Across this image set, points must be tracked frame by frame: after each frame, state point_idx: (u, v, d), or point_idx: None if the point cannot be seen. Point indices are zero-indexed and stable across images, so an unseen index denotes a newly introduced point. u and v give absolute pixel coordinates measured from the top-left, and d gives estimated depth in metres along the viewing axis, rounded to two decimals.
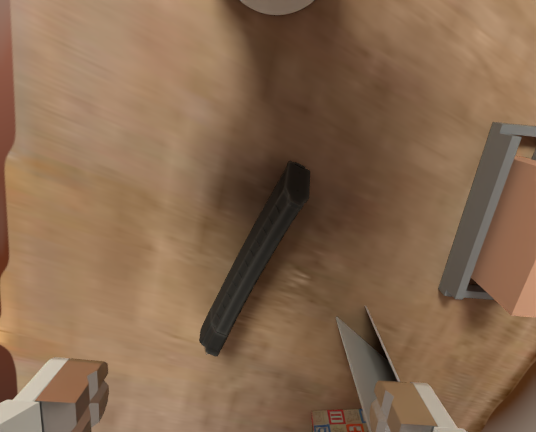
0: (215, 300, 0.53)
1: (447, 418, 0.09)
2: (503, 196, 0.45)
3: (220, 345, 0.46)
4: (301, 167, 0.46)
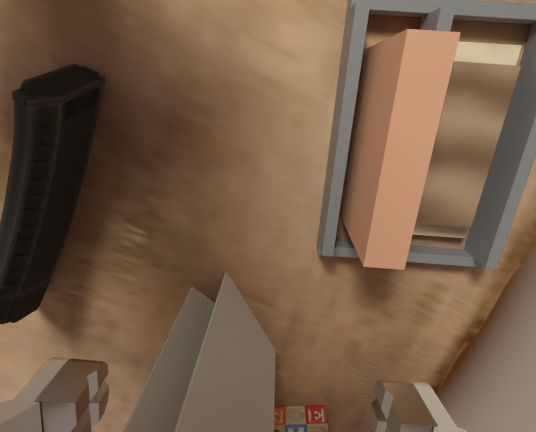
0: None
1: (447, 418, 0.09)
2: (365, 102, 0.32)
3: None
4: (90, 72, 0.34)
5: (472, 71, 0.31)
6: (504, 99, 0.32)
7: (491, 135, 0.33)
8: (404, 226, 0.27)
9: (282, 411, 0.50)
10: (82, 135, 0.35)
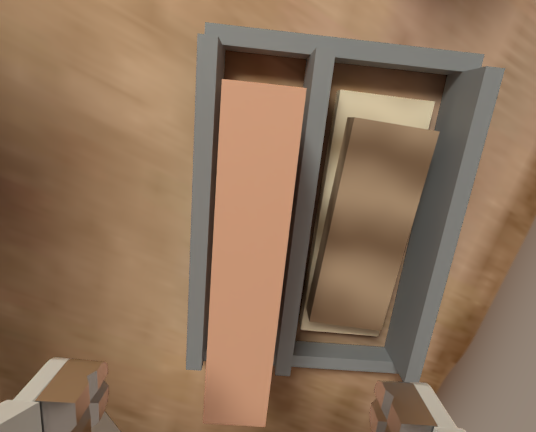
0: None
1: (447, 418, 0.09)
2: None
3: None
4: None
5: (378, 132, 0.23)
6: (419, 172, 0.24)
7: (404, 216, 0.25)
8: (257, 367, 0.18)
9: None
10: None
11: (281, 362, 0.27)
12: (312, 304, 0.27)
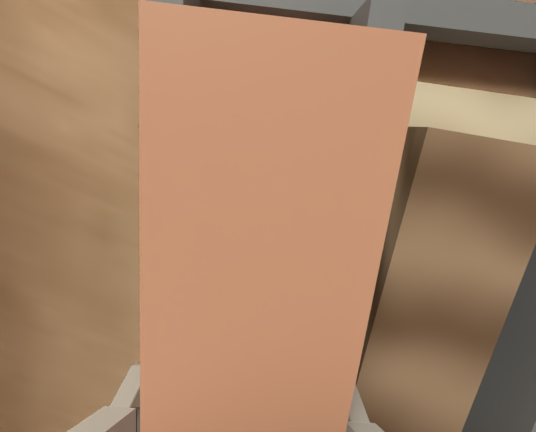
0: None
1: (362, 413, 0.09)
2: None
3: None
4: None
5: (466, 153, 0.13)
6: (532, 219, 0.14)
7: (501, 289, 0.15)
8: None
9: None
10: None
11: None
12: None
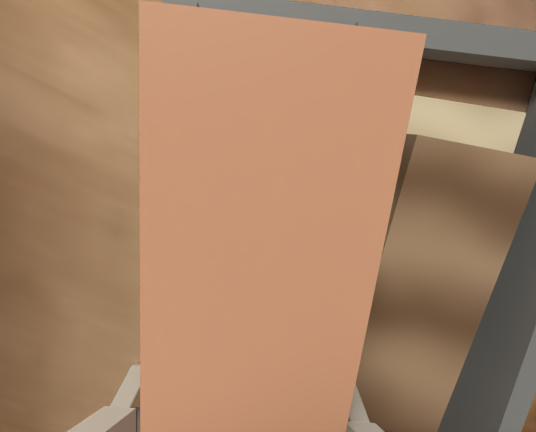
0: None
1: (362, 413, 0.09)
2: None
3: None
4: None
5: (451, 159, 0.15)
6: (509, 219, 0.16)
7: (481, 282, 0.17)
8: None
9: None
10: None
11: None
12: None
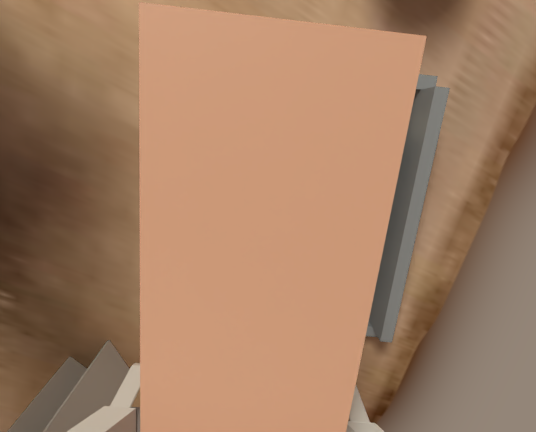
0: None
1: (362, 412, 0.09)
2: None
3: None
4: None
5: None
6: None
7: None
8: None
9: None
10: None
11: None
12: None
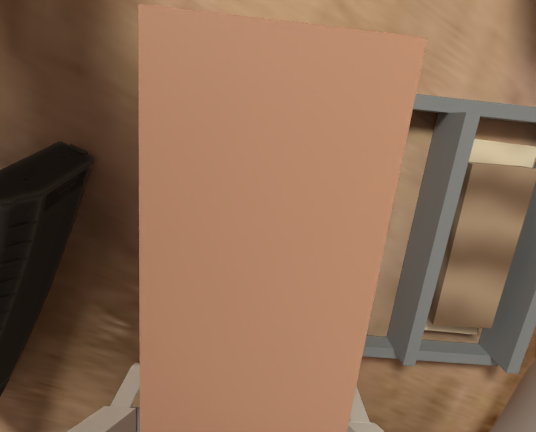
0: None
1: (362, 412, 0.09)
2: None
3: None
4: (77, 152, 0.30)
5: (491, 174, 0.29)
6: (523, 201, 0.30)
7: (511, 236, 0.31)
8: None
9: None
10: (63, 221, 0.30)
11: (409, 354, 0.33)
12: (435, 310, 0.33)
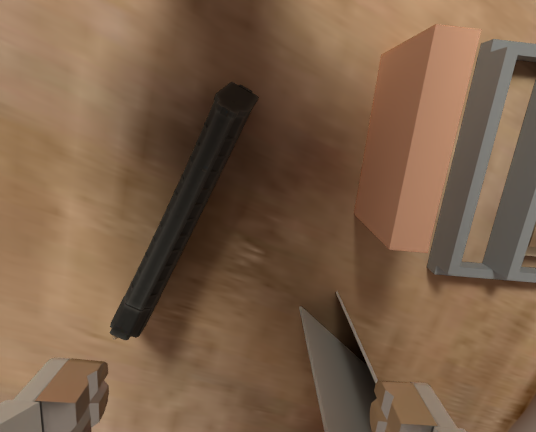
0: None
1: (447, 418, 0.09)
2: (383, 101, 0.34)
3: (132, 324, 0.33)
4: (247, 90, 0.36)
5: None
6: None
7: None
8: (428, 209, 0.29)
9: None
10: (231, 149, 0.36)
11: (513, 269, 0.39)
12: None
